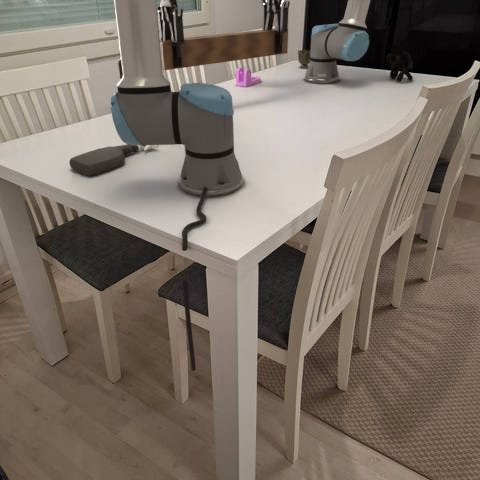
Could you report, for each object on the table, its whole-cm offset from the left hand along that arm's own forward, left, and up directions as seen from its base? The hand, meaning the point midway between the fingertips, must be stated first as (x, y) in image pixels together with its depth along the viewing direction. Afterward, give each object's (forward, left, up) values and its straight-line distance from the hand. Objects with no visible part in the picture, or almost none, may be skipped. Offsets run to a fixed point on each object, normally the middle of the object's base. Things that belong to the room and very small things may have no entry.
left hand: (174, 65), depth 147 cm
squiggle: (+81, -70, -18) cm, 109 cm away
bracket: (+58, -7, -18) cm, 61 cm away
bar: (+17, -12, -1) cm, 21 cm away
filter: (-3, +16, -18) cm, 24 cm away
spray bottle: (-40, 0, -18) cm, 43 cm away
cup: (+98, -23, -18) cm, 102 cm away
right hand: (+34, -25, 0) cm, 42 cm away
